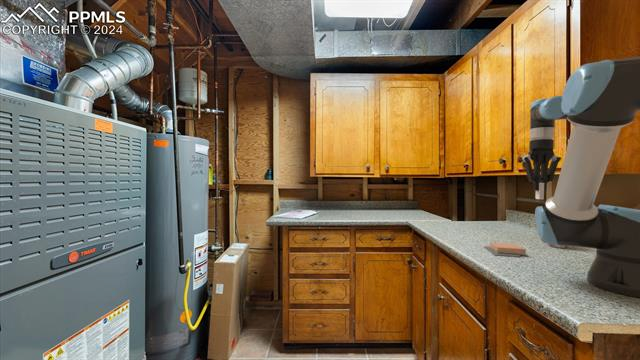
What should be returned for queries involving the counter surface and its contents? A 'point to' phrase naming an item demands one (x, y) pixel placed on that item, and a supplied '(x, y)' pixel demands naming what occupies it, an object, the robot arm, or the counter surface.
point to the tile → (507, 248)
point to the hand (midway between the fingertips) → (539, 199)
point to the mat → (500, 253)
